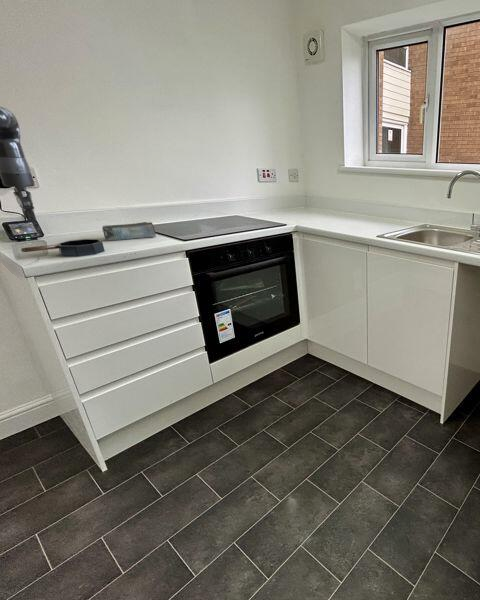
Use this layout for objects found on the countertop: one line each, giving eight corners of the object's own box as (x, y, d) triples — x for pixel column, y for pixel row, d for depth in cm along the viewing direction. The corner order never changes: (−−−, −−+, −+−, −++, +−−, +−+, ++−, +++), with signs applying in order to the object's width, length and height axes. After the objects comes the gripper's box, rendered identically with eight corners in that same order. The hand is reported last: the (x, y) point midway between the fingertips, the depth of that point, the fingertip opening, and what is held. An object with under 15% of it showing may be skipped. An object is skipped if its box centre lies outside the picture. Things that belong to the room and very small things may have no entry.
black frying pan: (27, 263, 121) (22, 251, 120) (22, 256, 129) (18, 245, 127) (107, 252, 137) (104, 242, 136) (99, 247, 145) (96, 237, 143)
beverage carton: (105, 238, 161) (101, 223, 159) (155, 234, 172) (152, 221, 170) (105, 241, 155) (101, 226, 153) (156, 237, 166) (153, 223, 164)
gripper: (-3, 170, 120) (13, 218, 125) (0, 172, 111) (17, 223, 117) (28, 171, 125) (42, 217, 131) (33, 172, 117) (48, 221, 122)
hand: (30, 220), depth 124 cm, fingers open, 8 cm apart
